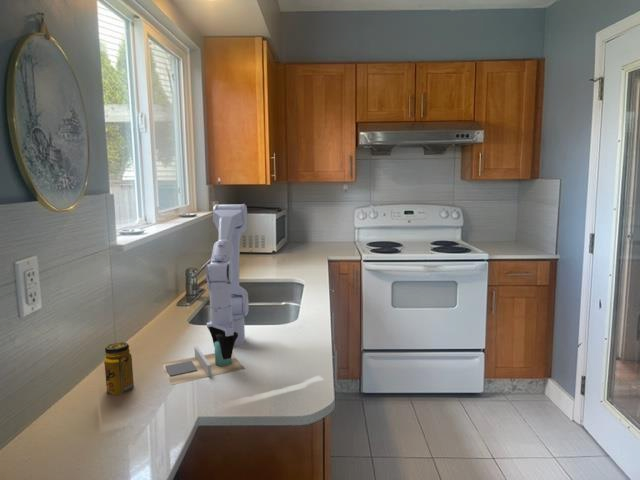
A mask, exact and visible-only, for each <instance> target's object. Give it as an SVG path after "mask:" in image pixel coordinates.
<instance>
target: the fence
mask: <svg viewBox="0 0 640 480" xmlns="http://www.w3.org/2000/svg"><path fill="white" fill-rule="evenodd" d="M204 355H205V354H203V352H202V351H201V350H200V348H199V346H194V357H195V358H196V359H197V361H198V362H199V364H200V365H201V367H202V368H203V370H204V371H205V373H206V374H207V376H208V377H207V378H210V377H212V376H211V365H210V363H209V362H208V360H207V359H206V358H205V356H204ZM209 376H210V377H209Z"/></svg>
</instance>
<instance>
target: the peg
mask: <svg viewBox="0 0 640 480" xmlns="http://www.w3.org/2000/svg"><path fill="white" fill-rule="evenodd" d="M214 345H215V347H214V353H215V365H217V366H228V365H230V364H231V363H232V359H231V358H229V359H223V357H222V353H221V347H220V344H219V341H216V342H215V343H213V346H214Z"/></svg>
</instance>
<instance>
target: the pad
mask: <svg viewBox="0 0 640 480" xmlns="http://www.w3.org/2000/svg"><path fill="white" fill-rule="evenodd" d="M165 367H166V369H167V371H168V373H169V376H170V377H171V376H176V375H180V374H185V373H190V372H195V371H197V368H196V367H195V365H194V364H193V362H192V361H188V362H182V363H177V364H172V365H167V366H165Z"/></svg>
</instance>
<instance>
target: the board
mask: <svg viewBox="0 0 640 480" xmlns="http://www.w3.org/2000/svg"><path fill="white" fill-rule="evenodd" d="M203 355H204V356H205V358H206V359H207V360H208V362H209V363H210V365H211V376H209V377H208V376H207V374H206V373H205V371H204V370H203V368H202V367H201V365H200V364H199V362H198V361H197V359H196V358H195V356H193V357H188V358H181V359H178V360H173V361H168V362H163V363H161V365H162V368H163V370H164V372H165V374H166V376H167V378H168V380H169V382H170V384H171V385H172V386H173V385H178V384H182V383H186V382H192V381H196V380H200V379H204V378H210V377H215V376H219V375H222V374H223V375H224V374H228V373H232V372H237V371H242V370H245V369H246V368H245V367H244V366H243V365H242V364H241V362H240V361H239V360H238V358H236V357H235V356H234V355H233V354H232V357H231V359H232V363H231V364H230V365H228V366H217V365H215V352H213V353H208V354H203ZM188 361H192V362H193V364H194V365H195V367H196V368H197V371H195V372H190V373H185V374H180V375H176V376H171V377H170V376H169V373H168V371H167V369H166V367H165V366H167V365H172V364H177V363H182V362H188Z"/></svg>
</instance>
